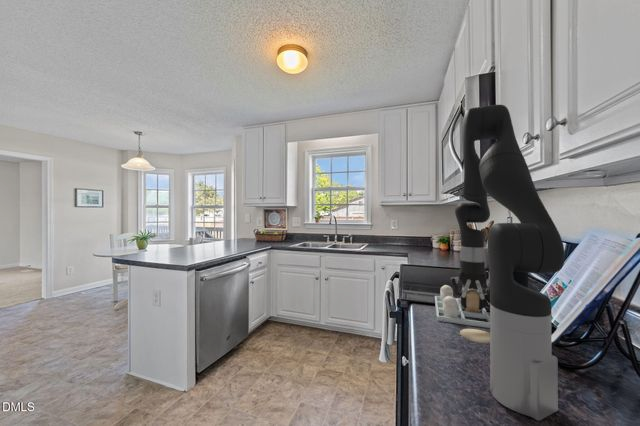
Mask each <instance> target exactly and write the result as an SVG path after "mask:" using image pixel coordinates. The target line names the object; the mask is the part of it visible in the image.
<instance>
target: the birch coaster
mask: <svg viewBox="0 0 640 426" xmlns="http://www.w3.org/2000/svg"><path fill="white" fill-rule="evenodd" d="M459 333H460V335H461V337H463V338H465V339H467V340H469V341H472V342H476V343H479V344H490V332H488V331H484V330H480V329H477V328H463V329H461V330H460V331H459Z"/></svg>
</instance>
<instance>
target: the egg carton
mask: <svg viewBox="0 0 640 426" xmlns="http://www.w3.org/2000/svg"><path fill="white" fill-rule="evenodd" d="M454 298H455V299H456V301H457V304H458V318H452V317H445V316H443V315H440V314H443V302H440V295H434V304H435V305H434V306H435V314H436V320H437V321H438V322H446V323H452V324H459V325H466V326H473V327H481V328H487V329H490V314H489V313H488V312H487V310H486V308H484V309H482V310H480V312H479V313H473V312H468V311H466V310H465V308H463V306H462V305H461V298H460V297H459V298H458V297H457V298H456V297H454ZM463 310H464V311H463ZM481 312H482V313H481ZM459 316H460V318H459ZM466 317H467V318H473V319H467V318H466ZM474 318H476V319H482V320H486V321H482V320H481V321H480V320H476V319H474Z"/></svg>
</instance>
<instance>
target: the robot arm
mask: <svg viewBox="0 0 640 426" xmlns="http://www.w3.org/2000/svg"><path fill="white" fill-rule="evenodd" d="M462 120H463V121H462V151H463V154H462V155H463V169H464V170H463V186H462V187H463V188H462V197H463V199H465V200H466V201H467V202H460V203H458V204H457V205H456V206H455V210H454V215H455V218H456V220H457V223H458V227H459V230H460V251H459V274H458V276H455V277H454V276H451V277H450V281H451V284H452V286H453V287H452V288H453V291H454V292H455V294H456V296H460V299H461V305H462V306H463V308H466V297H465V296H466V293H467V291H468V290H476V292H477V293H478V294H479V297H480V299H479V310H482V309H485V300H486V299H490V300H489V303H490V304H489V316H490V328H489V333H490V343H489V345H490V346H489V347H490V348H489V350H490V351H489V353H490V354H489V355H490V356H489V358H490V359H489V367H490V369H489V373H490V374H489V375H490V378H489V381H490V387H489V389H490V394H491V395H492V397H493V398H494V399H495V400H496V401H497V402H499V403H500V404H501V405H502V406H504V407H506V408H507V409H509V410H512V411H514V412H516V413H518V414H521V415H523V416H524V415H525V416H528V417H531V418H532V419H534V420H536V421H538V422H540V421H542V420H543V419H546V418H548V417H550V416H551V415H553V414H554V413H556V412H558V410H559V402H558V401H559V396H558V395H559V392H558V390H559V389H558V388H559V387H558V386H559V385H558V384H559V381H558V377H559V376H558V374H559V373H558V369H559V368H558V363H559V360H558V357H557V356H556V355H553V354H552V353H553V352H552V302H551V299H550V297H549V296H547V295H546V294H544V293H542V292H540V291H537V290H534V289H532V288H530V287H528V288H527V287H524V286H522V285H520V284H519V283H517V282H516V281H514V278H513V273H512V272H526V273H528V274H529V273H530V274H555V273H558V272H559V271H561V270H562V269H563V266H564V264H565V260H566V251H565V247H564V243H563V240H562V237H561V235H560V232H559V230H558V228H557V226H556V224H555V222H554V220H553V219H552V217H551V215H550V214H549V212H548V211H547V208H546V207H545V205H544V203H543V201H542V200H541V198H540V195H539V193H538V190H537V189H536V186H535V184H534V181H533V178H532V175H531V172H530V169H529V166H528V164H527V160H526V159H525V158H524V155H523V153H522V150H521V148H520V146H519V144H518V141H517V138H516V134H515V131H514V126H513V122H512V118H511V114H510V111H509V109H508V107H507V106H506V105H504V104H493V105H492V104H491V105H490V104H489V105H485V106H478V107H472V108H468V109H467V110H466V111H465V113H464V116H463V119H462ZM485 140H495V141H494V142H493V144H492V145H491V146H490V147H489V148H488V149H487V151H486V152H485V153H484V155H483V156H482V158H480V157H479V155H478V153H477V151H476V143H475V142H476V141H485ZM488 195H489V196H490V197H491V198H492V199H494V200H495V201H496V202H497V203H499V204H500V205H501V206H503V207H504V208H505V209H507V210H508V211H510V212H511V213H512V214H513V215H514V216H516V218H517V220H518V221H519V222H518V223H517V222H499V223H498V222H497V223H494V224H492V226H491V227H489V230H488V233H487V255H488V256H487V257H488V274H489V277H488V278H489V279H487V277H486V255H485V253H486V252H485V234H484V232H483V231H482V230H481V229H474V228H472V227H469V225H468V223H470V224H471V223H474V224H475V223H477V224H482V223H486V222H487V221H488V220H489V219H490V217H491V212H490V207H489V203H488ZM459 281H460V283H461V284H462V288H461V291H460V290H459V288H458V285H457V284H459ZM485 283H486V286H487V288H486V290H485V293H484V291H483V288H482V287H483V286H484V285H485Z"/></svg>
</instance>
